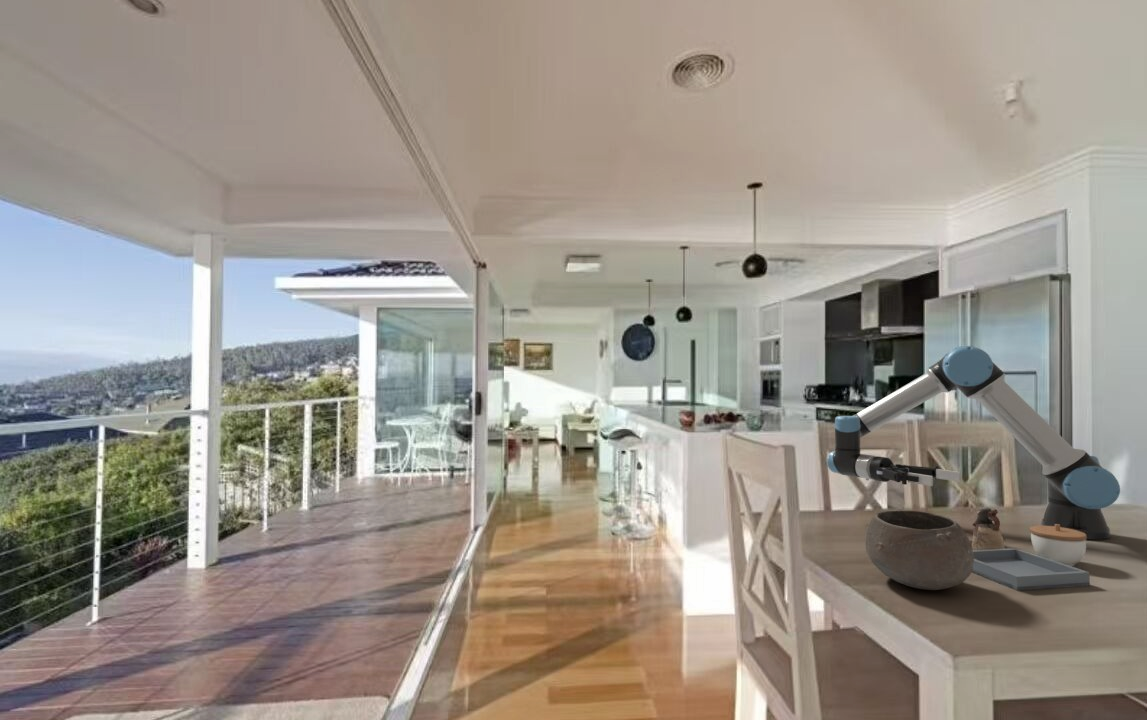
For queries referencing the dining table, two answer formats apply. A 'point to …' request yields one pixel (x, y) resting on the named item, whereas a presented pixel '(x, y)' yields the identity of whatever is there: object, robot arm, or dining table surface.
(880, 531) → the clay pot
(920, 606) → the dining table surface
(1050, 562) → the tray
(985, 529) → the figurine
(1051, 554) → the lidded jar
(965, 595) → the dining table surface
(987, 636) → the dining table surface
